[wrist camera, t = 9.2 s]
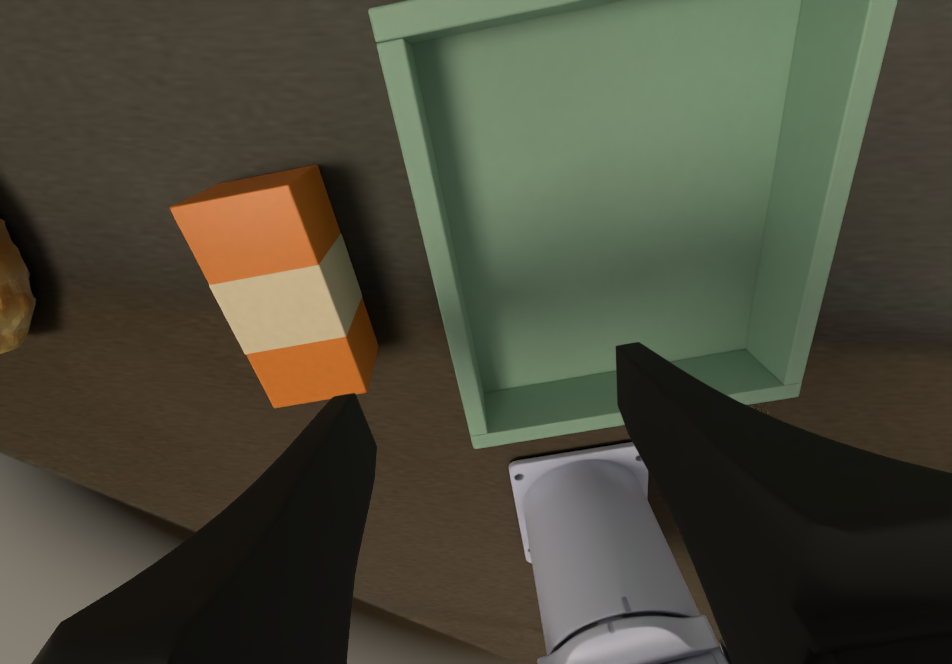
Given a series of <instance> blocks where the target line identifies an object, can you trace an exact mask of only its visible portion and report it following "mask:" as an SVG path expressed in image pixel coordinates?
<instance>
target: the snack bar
mask: <svg viewBox="0 0 952 664" xmlns="http://www.w3.org/2000/svg"><path fill="white" fill-rule="evenodd" d="M170 210H171V212H172V214H173V216H174V218H175V220H176V222H177V224H178V226H179V227H180V229H181V231H182V233H183V235H184V237H185V239H186V241H187V243H188V245H189V247H190V248H191V250H192V252H193V254H194V256H195V258H196V260H197V262H198V264H199V266H200V268H201V269H202V271H203V273H204V275H205V277H206V279H207V281H208V283H209V287H210V289H211V291H212V292H213V294H214V296H215V298H216V300H217V302H218V304H219V306H220V308H221V310H222V312H223V313H224V315H225V317H226V319H227V321H228V323H229V325H230V327H231V329H232V331H233V332H234V334H235V336H236V338H237V340H238V342H239V344H240V346H241V348H242V350H243V352H244V353H245V354H246V355H247V357H248V359H249V361H250V363H251V365H252V367H253V369H254V371H255V373H256V375H257V376H258V378H259V380H260V382H261V384H262V386H263V388H264V390H265V392H266V394H267V396H268V397H269V399H270V401H271V403H272V405H273V407H274V408H279V407H285V406H291V405H297V404H303V403H308V402H314V401H320V400H326V399H332V398H333V397H334V396H339V395H345V394H350V393H355V394H361V393H366V392H367V390H368V386H369V382H370V378H371V374H372V371H373V367H374V363H375V359H376V356H377V352H378V348H379V346H378V343H377V340H376V337H375V334H374V331H373V328H372V325H371V322H370V319H369V316H368V313H367V310H366V307H365V304H364V301H363V298H362V293H361V290H360V287H359V284H358V281H357V278H356V275H355V272H354V269H353V266H352V263H351V261H350V258H349V255H348V252H347V249H346V246H345V243H344V240H343V237H342V234H341V233H340V230H339V227H338V224H337V221H336V218H335V215H334V212H333V209H332V206H331V203H330V200H329V197H328V194H327V191H326V188H325V185H324V182H323V179H322V177H321V174H320V171H319V168H318V165H312V166H307V167H302V168H297V169H291V170H286V171H281V172H276V173H271V174H266V175H261V176H255V177H250V178H245V179H240V180H235V181H230V182H225V183H219V184H217V185H215V186H213V187H211V188H209V189H207V190H205V191H203V192H201V193H199V194H196V195H194V196H192V197H190V198H188V199H186V200H184V201H182V202H180V203H178V204H176V205H174V206H171V207H170Z"/></svg>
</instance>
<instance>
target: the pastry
mask: <svg viewBox="0 0 952 664" xmlns="http://www.w3.org/2000/svg"><path fill="white" fill-rule="evenodd" d="M29 276H30V273H29V271H28V269H27V267H26V265H25V263H24V261H23V259H22V258H21V256H20V252H19V249H18V248H17V247H16V246H15V245H14V244H13V242H12V241H11V239H10V236H9V233H8V231H7V229H6V226H5V221H4V220H1V219H0V354H1V353H4V352H8V351H11V350H13V349H16V348H18V347H19V346H20V345H22V344H23V342H24V341H25V338H26V336H27V334H28V331H29V327H30V322H31V318H32V315H33V311H34V308H35V305H36V298H34V297H33V294H32V292H31V289H30V283H29Z"/></svg>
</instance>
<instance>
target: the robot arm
mask: <svg viewBox="0 0 952 664" xmlns="http://www.w3.org/2000/svg"><path fill="white" fill-rule="evenodd" d="M616 376H617V405H618V408H619V410H620V413H621V416H622V418H623V421H624V424H625V426H626V429H627V431H628V434H629V436H630V438H631V440H632V442H629V443H622V444H616V445H610V446H604V447H597V448H591V449H585V450H579V451H573V452H566V453H560V454H554V455H548V456H541V457H535V458H529V459H523V460H516V461H513V462H512V463H510V465H509V473H510V478H511V484H512V489H513V494H514V499H515V504H516V510H517V515H518V520H519V525H520V530H521V536H522V541H523V546H524V551H525V557H526V560H527V561H528V562H529V563H532V566H533V572H534V578H535V584H536V590H537V596H538V602H539V608H540V614H541V620H542V626H543V633H544V639H545V645H546V651H547V656H544V657H541V658H538V659H537V664H952V473H948V472H944V471H940V470H936V469H932V468H928V467H924V466H920V465H915V464H911V463H907V462H903V461H899V460H896V459H892V458H889V457H885V456H882V455H878V454H875V453H872V452H868V451H865V450H862V449H858V448H855V447H852V446H849V445H846V444H843V443H840V442H837V441H833V440H831V439H828V438H825V437H822V436H819V435H817V434H814V433H811V432H809V431H806V430H803V429H800V428H798V427H795V426H793V425H790V424H788V423H785V422H783V421H780V420H778V419H776V418H773V417H771V416H769V415H767V414H764V413H762V412H760V411H758V410H755V409H753V408H751V407H749V406H747V405H745V404H743V403H741V402H738V401H736V400H735V399H733V398H731V397H729V396H727V395H725V394H723V393H721V392H719V391H718V390H716V389H714V388H712V387H710V386H709V385H707V384H705V383H703V382H702V381H700V380H698V379H696V378H695V377H693V376H691V375H690V374H688V373H687V372H685V371H683V370H682V369H680V368H678V367H677V366H675V365H674V364H672V363H671V362H669V361H668V360H666V359H664V358H663V357H661V356H660V355H658V354H657V353H655V352H654V351H652V350H651V349H649V348H648V347H646V346H644V345H643V344H641V343H640V342H635V343H629V344H624V345H618V346H616ZM376 451H377V446H376V443H375V441H374V438H373V436H372V433H371V431H370V428H369V426H368V424H367V421H366V419H365V416H364V414H363V411H362V409H361V406H360V404H359V401H358V399H357V397H356V394H355V393H350V394H345V395H339V396H334V397H333V398H332V399H331V400H330V401H329V402H328V403H327V404H326V405H325V406H324V407H323V408H322V410H321V411H320V412H319V413H318V414H317V415H316V416H315V418H314V419H313V420H312V421H311V422H310V423H309V425H308V426H307V427H306V428H305V429H304V430H303V431H302V432H301V434H300V435H299V436H298V437H297V438H296V439H295V440H294V441H293V443H292V444H291V445H290V446H289V447H288V448H287V449H286V450H285V451H284V452H283V454H282V455H281V456H280V457H279V458H278V459H277V460H276V461H275V462H274V463H273V464H272V465H271V466H270V467H269V468H268V469H267V470H266V471H265V472H264V473H263V474H262V475H261V476H260V477H259V478H258V479H257V480H256V481H255V482H254V483H253V484H252V485H251V486H250V487H249V488H248V489H247V490H246V491H245V492H244V493H243V494H241V495H240V496H239V497H238V498H237V499H236V500H235V501H234V502H232V503H231V504H230V505H229V506H228V507H227V508H226V509H225V510H223V511H222V512H221V513H220V514H219V515H217V516H216V517H215V518H214V519H212V520H211V521H210V522H209V523H207V524H206V525H205V526H204V527H202V528H201V529H200V530H198V531H197V532H196V533H195V534H193V535H192V536H191V537H190V538H188V539H187V540H186V541H185V542H183V543H182V544H181V545H179V546H178V547H177V548H175V549H174V550H172V551H171V552H170V553H168V554H167V555H165V556H164V557H163V558H161V559H160V560H158V561H157V562H156V563H154V564H153V565H151V566H150V567H148V568H147V569H145V570H144V571H142V572H141V573H139V574H138V575H136V576H135V577H134V578H132V579H131V580H129V581H127V582H126V583H124V584H123V585H121V586H120V587H118V588H116V589H115V590H113V591H112V592H110V593H108V594H107V595H105V596H103V597H102V598H100V599H99V600H97V601H95V602H94V603H92V604H90V605H89V606H87V607H86V608H84V609H82V610H81V611H79V612H77V613H76V614H74V615H73V616H71V617H69V618H67V619H66V620H64V621H62V622H61V623H60V624H59V625H58V627H57V628H56V630H55V631H54V633H53V634H52V635H51V637H50V638H49V639H48V641H47V642H46V644H45V645H44V647H43V648H42V649H41V651H40V652H39V654H38V655H37V657H36V658H35V659H34V661H33V662H32V664H347V651H348V639H349V628H350V616H351V607H352V598H353V589H354V580H355V572H356V566H357V561H358V555H359V551H360V546H361V541H362V537H363V532H364V527H365V523H366V518H367V513H368V509H369V504H370V499H371V494H372V489H373V484H374V478H375V467H376ZM638 455H640V456H638ZM648 472H649V473H650V475H651V477H652V479H653V481H654V482H655V484H656V486H657V488H658V490H659V492H660V493H661V495H662V497H663V499H664V501H665V503H666V504H667V506H668V508H669V510H670V512H671V514H672V516H673V518H674V520H675V522H676V524H677V527H678V529H679V531H680V534H681V536H682V538H683V541H684V543H685V545H686V548H687V550H688V553H689V555H690V557H691V560H692V562H693V564H694V567H695V569H696V572H697V574H698V577H699V579H700V582H701V584H702V587H703V589H704V592H705V594H706V597H707V599H708V602H709V604H710V607H711V609H712V612H713V615H714V617H715V620H716V622H717V625H718V628H719V630H720V633H721V636H722V638H723V639H721V640H720V643H721V647H722V650H723V652H722V650H721V647H720V645H719V643H718V641H717V639H716V637H715V634H714V632H713V630H712V628H711V626H710V624H709V622H708V620H707V617H706V616H705V615H700V614H699V611H698V609H697V607H696V605H695V603H694V601H693V598H692V596H691V594H690V592H689V590H688V587H687V585H686V583H685V581H684V579H683V577H682V574H681V572H680V570H679V568H678V566H677V564H676V561H675V559H674V557H673V555H672V553H671V550H670V548H669V546H668V544H667V542H666V540H665V537H664V535H663V533H662V531H661V529H660V527H659V524H658V522H657V520H656V518H655V516H654V513H653V511H652V509H651V507H650V505H649V503H648V500H647V495H648ZM517 474H520V475H517ZM723 653H724V654H723ZM724 655H725V656H724Z"/></svg>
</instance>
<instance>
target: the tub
mask: <svg viewBox="0 0 952 664" xmlns="http://www.w3.org/2000/svg"><path fill="white" fill-rule="evenodd" d="M897 1H898V0H407V1H403V2H398V3H393V4H388V5H383V6H379V7H374V8H370V9H369V12H368V13H369V17H370V21H371V25H372V29H373V33H374V37H375V41H376V42H377V43H378V44H377V50H378V54H379V58H380V62H381V66H382V71H383V75H384V79H385V83H386V87H387V91H388V96H389V100H390V104H391V108H392V112H393V116H394V120H395V125H396V129H397V133H398V137H399V141H400V145H401V149H402V154H403V158H404V162H405V166H406V170H407V174H408V178H409V183H410V187H411V191H412V195H413V199H414V203H415V208H416V212H417V216H418V220H419V224H420V228H421V232H422V237H423V241H424V245H425V249H426V253H427V257H428V261H429V266H430V270H431V274H432V278H433V282H434V286H435V291H436V295H437V299H438V303H439V307H440V311H441V315H442V320H443V324H444V328H445V332H446V336H447V340H448V344H449V349H450V353H451V357H452V361H453V365H454V369H455V373H456V378H457V382H458V386H459V390H460V394H461V398H462V403H463V407H464V411H465V415H466V419H467V423H468V427H469V432H470V435H471V440H472V444H473V448H474V449H478V448H484V447H490V446H497V445H503V444H509V443H515V442H521V441H527V440H534V439H540V438H546V437H552V436H558V435H564V434H571V433H577V432H583V431H589V430H595V429H602V428H608V427H614V426H620V425H625V424H624V421H623V418H622V416H621V413H620V410H619V408H618V405H617V376H616V346H618V345H624V344H629V343H635V342H640V343H641V344H643V345H644V346H646V347H648V348H649V349H651V350H652V351H654V352H655V353H657V354H658V355H660V356H661V357H663V358H664V359H666V360H668V361H669V362H671V363H672V364H674V365H675V366H677V367H678V368H680V369H682V370H683V371H685V372H687V373H688V374H690V375H691V376H693V377H695V378H696V379H698V380H700V381H702V382H703V383H705V384H707V385H709V386H710V387H712V388H714V389H716V390H718V391H719V392H721V393H723V394H725V395H727V396H729V397H731V398H733V399H735V400H736V401H738V402H741V403H743V404H745V405H750V404H756V403H762V402H768V401H774V400H781V399H787V398H793V397H798V396H799V392H800V388H801V384H802V383H801V382H802V379H803V375H804V371H805V367H806V363H807V359H808V355H809V351H810V347H811V343H812V339H813V335H814V331H815V327H816V323H817V319H818V315H819V311H820V307H821V303H822V300H823V296H824V292H825V288H826V284H827V280H828V276H829V272H830V268H831V264H832V260H833V256H834V252H835V248H836V244H837V240H838V236H839V232H840V228H841V224H842V220H843V216H844V212H845V208H846V204H847V200H848V196H849V192H850V188H851V184H852V180H853V176H854V172H855V168H856V164H857V160H858V156H859V152H860V148H861V144H862V140H863V136H864V132H865V128H866V124H867V120H868V116H869V112H870V108H871V104H872V100H873V96H874V92H875V89H876V85H877V81H878V77H879V73H880V69H881V65H882V61H883V57H884V53H885V49H886V45H887V41H888V37H889V33H890V29H891V25H892V21H893V17H894V13H895V9H896V5H897Z"/></svg>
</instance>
